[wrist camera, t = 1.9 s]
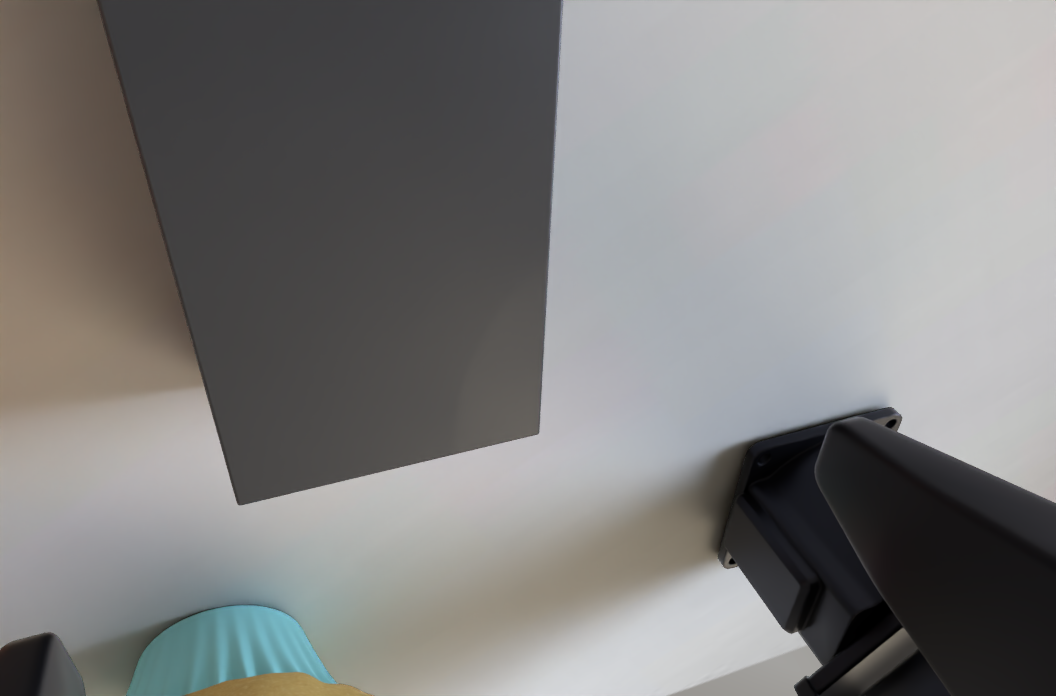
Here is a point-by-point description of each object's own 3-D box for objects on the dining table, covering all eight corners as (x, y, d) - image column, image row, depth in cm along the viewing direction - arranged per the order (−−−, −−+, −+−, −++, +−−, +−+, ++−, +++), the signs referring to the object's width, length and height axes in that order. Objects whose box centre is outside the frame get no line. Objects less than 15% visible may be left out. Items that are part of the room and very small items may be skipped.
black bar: (482, -109, 14) (568, -69, 11) (483, 334, 20) (540, 435, 17) (97, -104, 12) (80, -54, 9) (223, 384, 18) (238, 507, 16)
